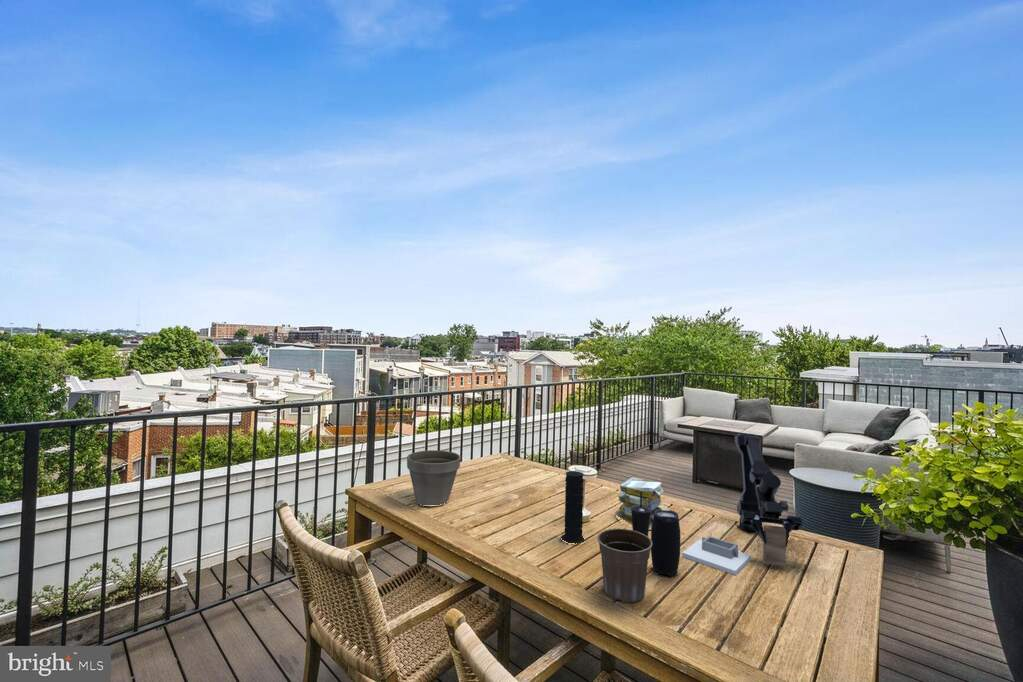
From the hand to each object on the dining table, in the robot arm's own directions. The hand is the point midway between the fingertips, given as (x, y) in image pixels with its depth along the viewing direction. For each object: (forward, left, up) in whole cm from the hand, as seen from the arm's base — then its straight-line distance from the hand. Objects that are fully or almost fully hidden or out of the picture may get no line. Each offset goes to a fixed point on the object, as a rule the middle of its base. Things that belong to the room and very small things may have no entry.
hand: (775, 545), depth 154 cm
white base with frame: (+14, -12, -8) cm, 20 cm away
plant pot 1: (+106, -91, -9) cm, 140 cm away
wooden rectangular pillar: (-1, -1, -7) cm, 7 cm away
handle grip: (+58, -38, -9) cm, 70 cm away
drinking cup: (+35, -28, -9) cm, 45 cm away
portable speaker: (+38, -8, -9) cm, 39 cm away
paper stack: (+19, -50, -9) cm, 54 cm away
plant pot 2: (+58, 0, -9) cm, 58 cm away
